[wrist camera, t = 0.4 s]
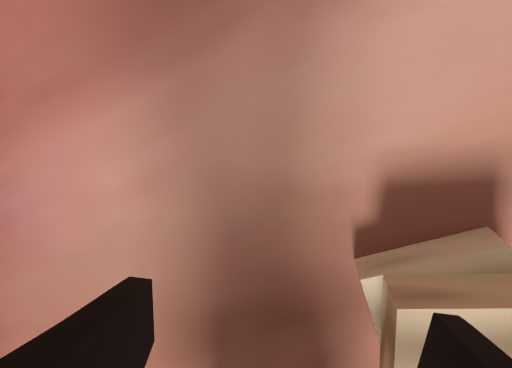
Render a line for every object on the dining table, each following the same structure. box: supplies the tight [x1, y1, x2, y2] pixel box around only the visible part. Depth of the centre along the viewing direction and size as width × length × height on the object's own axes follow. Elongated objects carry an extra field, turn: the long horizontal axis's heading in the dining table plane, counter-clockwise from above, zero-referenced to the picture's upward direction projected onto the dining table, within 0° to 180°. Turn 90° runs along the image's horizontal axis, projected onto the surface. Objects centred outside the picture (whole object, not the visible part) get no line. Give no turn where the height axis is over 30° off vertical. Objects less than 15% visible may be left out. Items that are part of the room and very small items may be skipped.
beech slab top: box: [380, 273, 512, 368], centre depth 17 cm, size 6×6×2 cm
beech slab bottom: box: [354, 226, 512, 343], centre depth 19 cm, size 7×7×2 cm
